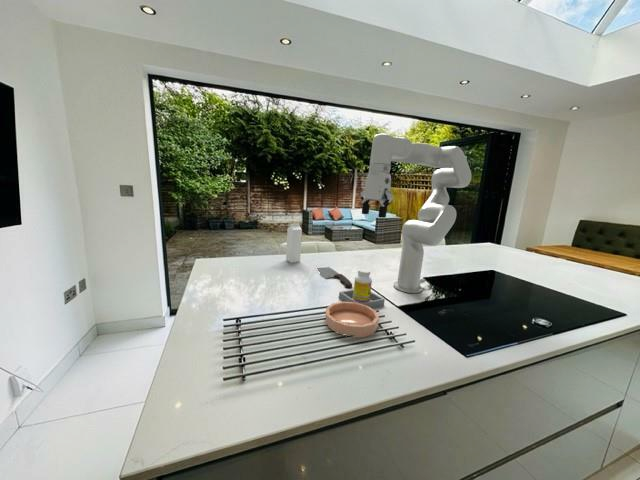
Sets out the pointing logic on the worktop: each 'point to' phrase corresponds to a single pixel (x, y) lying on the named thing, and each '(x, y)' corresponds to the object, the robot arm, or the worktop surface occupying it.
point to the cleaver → (334, 276)
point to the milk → (293, 243)
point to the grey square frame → (375, 303)
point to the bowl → (352, 319)
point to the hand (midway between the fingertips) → (373, 215)
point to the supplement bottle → (362, 286)
